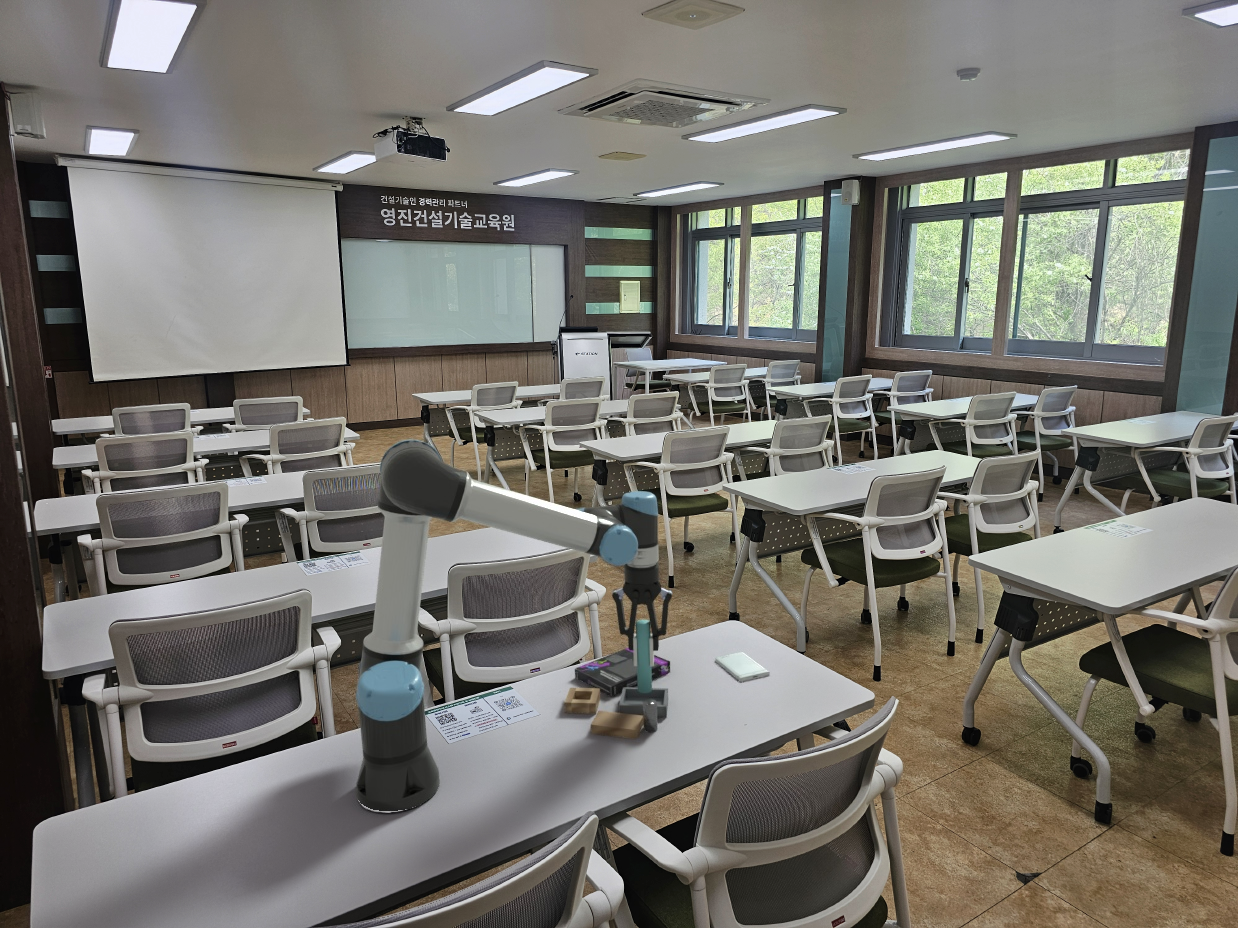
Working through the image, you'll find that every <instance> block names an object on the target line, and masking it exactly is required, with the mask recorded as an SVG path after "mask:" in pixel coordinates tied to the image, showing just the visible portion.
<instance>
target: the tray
mask: <svg viewBox="0 0 1238 928" xmlns="http://www.w3.org/2000/svg"><path fill="white" fill-rule="evenodd" d="M647 699H653V700H656V701H657V718H667V717H668V706H669V688H667V687H665V688H661V687H652V691H651V692H649V693H641V692H639V691H638V687H634V688H633V687H623V690H622V693H621V696H620V700H619V704H618V709H619V710H618V713H624V714H633V715H641V716H643V701H645V700H647Z"/></svg>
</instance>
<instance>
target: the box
mask: <svg viewBox="0 0 1238 928" xmlns="http://www.w3.org/2000/svg"><path fill="white" fill-rule="evenodd" d="M651 671H652V681H653V680H654V679H656V678H659V677H661V676H664V675H667V674H668V673H670V672H671V661H670V660H668V659H666V658H663V657H660V656H658V655H655V654H654V666H651ZM574 677H575V679H577V681H580V682H582V683H584V684H585V685H587V686H589V687H590V688H600V693H602V694H604V695H606V696H608V697H609V698H614V697H616V696H617V695H620V694H622V690H623V687H633V688H637V687H638V682H637V666H634V651H631V650H629V647H627V648H624V649H622V650H618V651H616V652H614V653H611V654H608V655H606V656H603V657H601V658H599V659H595V660H593V661H591V662H587V663H585V664H582V665H580V666H578V667H576V668H574Z"/></svg>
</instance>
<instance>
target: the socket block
mask: <svg viewBox="0 0 1238 928" xmlns="http://www.w3.org/2000/svg"><path fill="white" fill-rule="evenodd" d="M600 701H601V692H600V688H593V687H569V690H568V692H567V694H566V698H565V700H564V713H566V714H591V715H592V714H594V715H597V713H598V708H599V704H600Z"/></svg>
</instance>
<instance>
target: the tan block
mask: <svg viewBox="0 0 1238 928" xmlns="http://www.w3.org/2000/svg"><path fill="white" fill-rule="evenodd" d="M642 728H643V716H641V715H633V714H624V713H619V712H615V711H605V710H597V712H596V714H595V717H594V718H593V720H592V722H591V723H590V734H592V735H601V736H609V737H614V738H615V737H618V738H624V739H631V740H637V739H638V737H639V736H640V733H641V732H642Z"/></svg>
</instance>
